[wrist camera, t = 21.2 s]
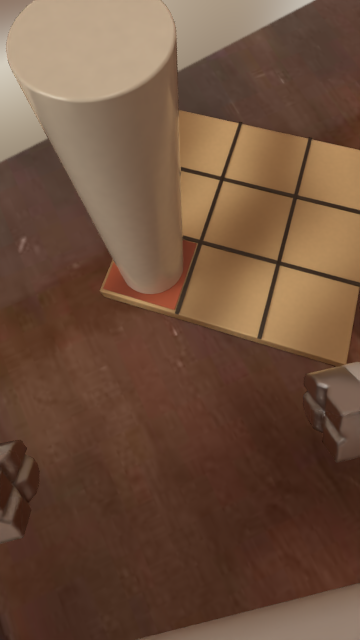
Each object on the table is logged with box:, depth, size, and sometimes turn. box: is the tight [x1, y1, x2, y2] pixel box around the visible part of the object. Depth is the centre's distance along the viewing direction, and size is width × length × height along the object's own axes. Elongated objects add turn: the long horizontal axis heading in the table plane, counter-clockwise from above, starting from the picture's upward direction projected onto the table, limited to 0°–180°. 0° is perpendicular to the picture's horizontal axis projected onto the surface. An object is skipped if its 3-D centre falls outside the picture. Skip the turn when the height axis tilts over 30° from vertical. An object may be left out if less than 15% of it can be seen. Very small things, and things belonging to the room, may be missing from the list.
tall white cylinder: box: [6, 0, 184, 294], centre depth 13 cm, size 4×4×12 cm
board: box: [100, 110, 360, 366], centre depth 20 cm, size 15×15×1 cm
